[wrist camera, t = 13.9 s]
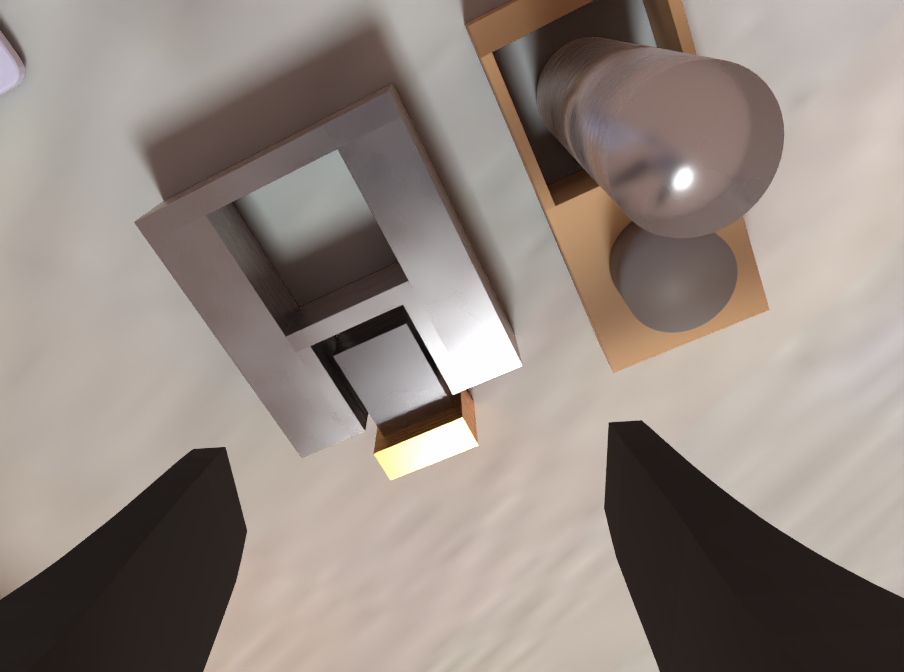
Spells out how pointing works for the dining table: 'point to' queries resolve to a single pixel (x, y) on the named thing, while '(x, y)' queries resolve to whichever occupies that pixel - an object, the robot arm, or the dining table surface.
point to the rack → (627, 222)
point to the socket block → (314, 325)
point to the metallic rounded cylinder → (664, 131)
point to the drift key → (405, 394)
